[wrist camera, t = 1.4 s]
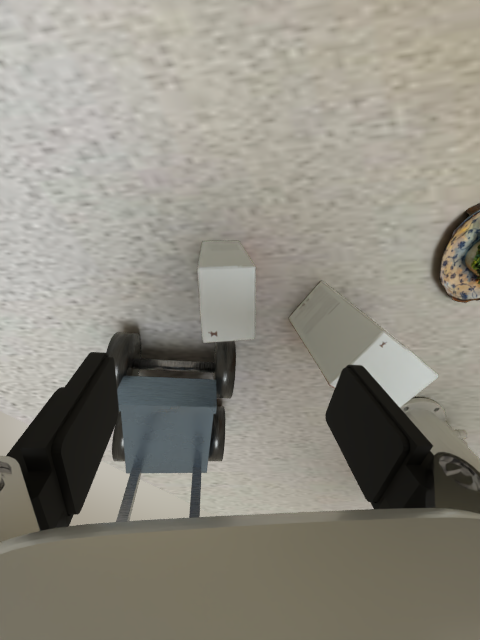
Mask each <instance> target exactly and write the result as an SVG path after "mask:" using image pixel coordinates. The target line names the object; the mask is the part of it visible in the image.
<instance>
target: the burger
mask: <svg viewBox="0 0 480 640" xmlns="http://www.w3.org/2000/svg"><path fill="white" fill-rule="evenodd" d="M466 212H467V213H468V214H469V216H468V217H467V218H466V219H465V220H464V221H463V222H462V223H461V224H460V225H459V226H458V227H457V228H456V229H455V230H454V232H453V235H452V237H451V239H450V241H449V243H448V244H447V246H446V248H445V250H444V253H443V256H442V260H441V270H440V282H441V283H442V285H443V287H444V288H445V290H446V293H447V294H448V295H449V296H451V297H452V300H455V301H457V302H465V303H466V302H468V301H471V300H476V301H477V300H480V204H478V205H476V206H473V207H471V208H469V209H468V210H466Z"/></svg>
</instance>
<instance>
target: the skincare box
mask: <svg viewBox="0 0 480 640" xmlns="http://www.w3.org/2000/svg"><path fill="white" fill-rule="evenodd" d="M197 276H198V288H199V308H200V318H201V330H202V340H203V343H210V342H222V341H239V340H251V339H255V325H256V303H255V297H256V266H255V265H254V263H253V262H252V260H251V259H250V257H249V256H248V254H247V252H246V251H245V249H244V248H243V246H242V245H241V243H240V242H239V241H203V242H202V245H201V251H200V256H199V262H198V268H197Z"/></svg>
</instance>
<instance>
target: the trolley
mask: <svg viewBox="0 0 480 640" xmlns="http://www.w3.org/2000/svg"><path fill="white" fill-rule="evenodd" d="M106 353H108V354H109V357H113V358H114V363H115V373H116V384H117V394H118V405H119V411H120V412H119V415H118V419H117V422H116V425H115V429H114V435H113V443H112V456H113V460H114V461H125V464H126V473H130V477H129V480H128V483H127V487H126V491H125V494H124V497H123V500H122V504H121V507H120V511H119V514H118V517H117V521H116V522H126V521H129V519H130V516H131V511H132V507H133V504H134V500H135V496H136V492H137V488H138V484H139V480H140V476H141V473H193V474H192V488H191V502H190V516H189V518H196V517H199V515H200V490H201V473H207V465H208V461H222V459H223V453H224V443H225V409H224V406H217V398H231V397H232V393H233V388H234V380H235V366H236V349H235V342H234V341H222V342H216V346H215V355H214V363H212V362H193V361H175V360H156V359H141V341H140V337H139V335H138V334H137V333H124V332H117V333H115V334H114V336H113V337H112V339H111V341H110V343H109V346H108V349H107V352H106ZM140 369H146V370H167V371H188V372H209V373H213V380H210V379H188V378H165V377H142V376H138V375H139V370H140Z"/></svg>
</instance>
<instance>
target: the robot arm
mask: <svg viewBox="0 0 480 640" xmlns="http://www.w3.org/2000/svg"><path fill="white" fill-rule="evenodd" d="M118 415H119V405H118V394H117V384H116V373H115V363H114V358H113V357H109V354H108V353H98V352H91V353H90V354H89V355H88V356H87V357H86V359H85V360H84V362H83V363H82V364H81V366H80V367H79V368H78V370H77V371H76V372H75V374H74V375H73V376H72V378H71V379H70V381H69V382H68V383H67V385H66V386H65V387H61V388H59V389H58V390H57V391H56V392H55V393H54V394H53V395H52V397H51V398H50V399H49V401H48V402H47V403H46V404H45V406H44V407H43V408H42V410H41V411H40V412H39V414H38V415H37V416H36V418H35V419H34V420H33V421H32V423H31V424H30V425H29V427H28V428H27V429H26V431H25V432H24V433H23V435H22V436H21V437H20V439H19V440H18V441H17V442H16V444H15V445H14V446H13V448H12V449H11V450H10V452H9V453H8V454H7V456H0V640H480V459H479V458H478V457H477V456H476V455H475V454H474V453H473V452H472V451H471V450H470V449H469V448H468V446H467V443H466V442H465V441H464V440H463V439H466V438H467V433H466V431H464V430H453V429H452V428H451V427H450V426H449V425H448V424H447V423H446V414H445V411H444V409H443V408H442V407H441V406H440V405H439V404H438V403H436V402H435V401H433V400H431V399H427V398H412V399H410V400H409V401H408V402H406V403H405V404H404V405H403V406H401V407H399V406H398V405H397V404H396V403H395V402H394V400H393V399H392V398H391V397H390V396H389V395H388V394H387V393H386V391H385V390H384V389H383V388H382V387H381V386H380V385H379V383H378V382H377V381H376V380H375V379H374V378H373V377H372V375H371V374H370V373H369V372H368V371H367V370H366V369H365V368H364V367H363V366H362V365H347V366H346V368H343V369H342V371H341V374H340V377H339V379H338V382H337V385H336V387H335V390H334V393H333V395H332V398H331V401H330V403H329V406H328V409H327V411H326V421H327V424H328V426H329V428H330V430H331V431H332V433H333V435H334V437H335V439H336V441H337V443H338V445H339V447H340V449H341V451H342V453H343V455H344V457H345V459H346V461H347V463H348V465H349V467H350V469H351V471H352V473H353V475H354V477H355V479H356V481H357V483H358V485H359V486H360V488H361V490H362V492H363V494H364V496H365V498H366V499H367V501H369V502H371V504H372V506H373V508H374V509H370V510H345V511H320V512H298V513H276V514H255V515H234V516H215V517H196V518H177V519H158V520H141V521H126V522H113V523H98V524H86V525H77V526H69V524H70V522H71V519H72V517H73V515H74V514H79V513H80V511H81V509H82V507H83V504H84V502H85V499H86V497H87V494H88V492H89V489H90V487H91V484H92V482H93V479H94V477H95V474H96V471H97V469H98V467H99V464H100V462H101V459H102V457H103V454H104V452H105V449H106V447H107V444H108V442H109V439H110V437H111V434H112V432H113V429H114V427H115V424H116V422H117V419H118Z"/></svg>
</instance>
